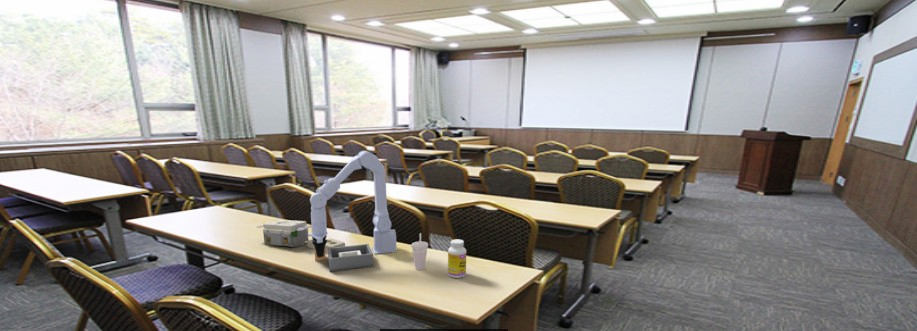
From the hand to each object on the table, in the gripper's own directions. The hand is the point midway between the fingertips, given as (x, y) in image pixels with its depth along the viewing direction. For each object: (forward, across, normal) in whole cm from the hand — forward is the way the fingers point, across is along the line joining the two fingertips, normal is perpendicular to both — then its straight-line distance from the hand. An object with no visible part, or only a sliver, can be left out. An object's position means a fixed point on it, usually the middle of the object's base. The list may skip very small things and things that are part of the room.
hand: (320, 254), depth 154 cm
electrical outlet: (+2, -12, +3) cm, 12 cm away
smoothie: (+2, +24, +36) cm, 43 cm away
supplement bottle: (+2, +35, +46) cm, 58 cm away
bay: (+2, +10, +11) cm, 15 cm away
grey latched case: (+2, -26, -14) cm, 30 cm away
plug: (+2, 0, 0) cm, 2 cm away
